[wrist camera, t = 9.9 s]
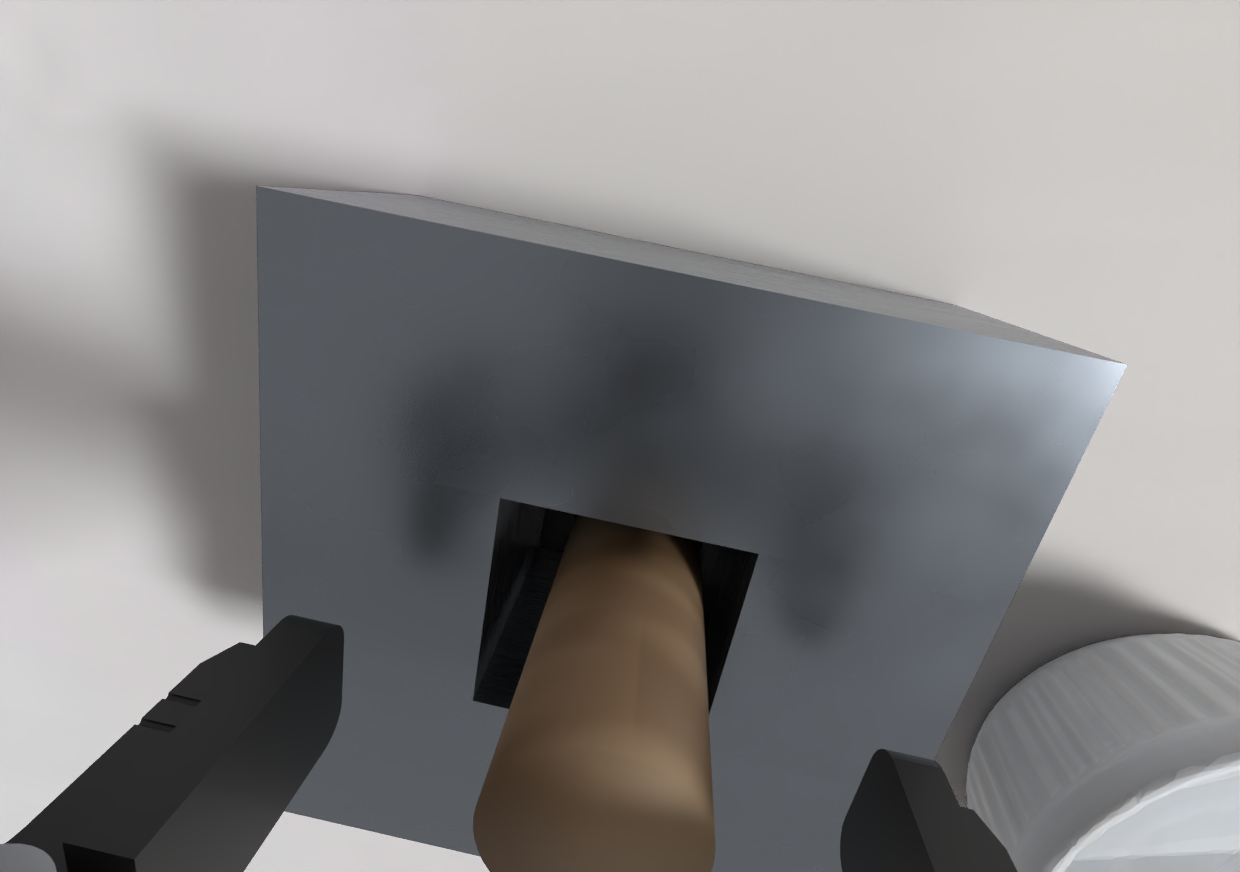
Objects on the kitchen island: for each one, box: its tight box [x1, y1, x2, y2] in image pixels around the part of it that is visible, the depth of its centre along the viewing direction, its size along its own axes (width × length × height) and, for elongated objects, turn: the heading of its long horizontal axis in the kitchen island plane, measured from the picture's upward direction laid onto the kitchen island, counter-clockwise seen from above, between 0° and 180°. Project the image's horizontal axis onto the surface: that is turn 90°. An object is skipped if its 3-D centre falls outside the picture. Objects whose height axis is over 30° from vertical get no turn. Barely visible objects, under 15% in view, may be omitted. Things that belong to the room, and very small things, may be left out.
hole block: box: [256, 186, 1127, 872], centre depth 14 cm, size 13×13×6 cm
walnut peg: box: [473, 515, 715, 872], centre depth 12 cm, size 3×3×10 cm
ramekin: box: [966, 633, 1240, 872], centre depth 16 cm, size 11×11×5 cm
